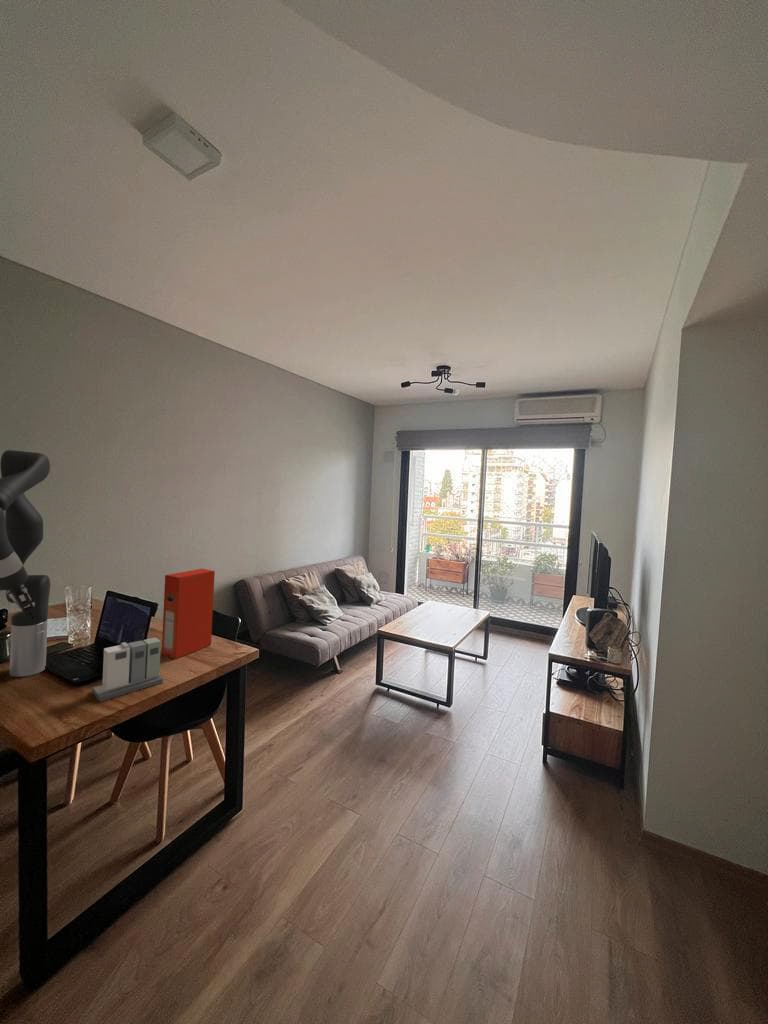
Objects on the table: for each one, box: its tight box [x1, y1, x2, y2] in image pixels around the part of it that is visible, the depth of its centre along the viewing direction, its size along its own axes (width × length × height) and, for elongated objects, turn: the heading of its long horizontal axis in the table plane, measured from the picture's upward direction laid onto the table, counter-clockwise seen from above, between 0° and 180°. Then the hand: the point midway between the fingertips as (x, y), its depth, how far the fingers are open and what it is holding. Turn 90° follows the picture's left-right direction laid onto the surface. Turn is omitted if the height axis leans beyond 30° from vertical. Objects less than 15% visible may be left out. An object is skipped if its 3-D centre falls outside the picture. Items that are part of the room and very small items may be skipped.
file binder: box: [161, 568, 215, 660], centre depth 162 cm, size 8×17×32 cm, turn 157°
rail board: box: [91, 637, 164, 703], centre depth 130 cm, size 8×18×14 cm, turn 141°
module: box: [101, 641, 130, 690], centre depth 127 cm, size 5×6×13 cm
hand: (28, 613), depth 117 cm, fingers open, 8 cm apart
